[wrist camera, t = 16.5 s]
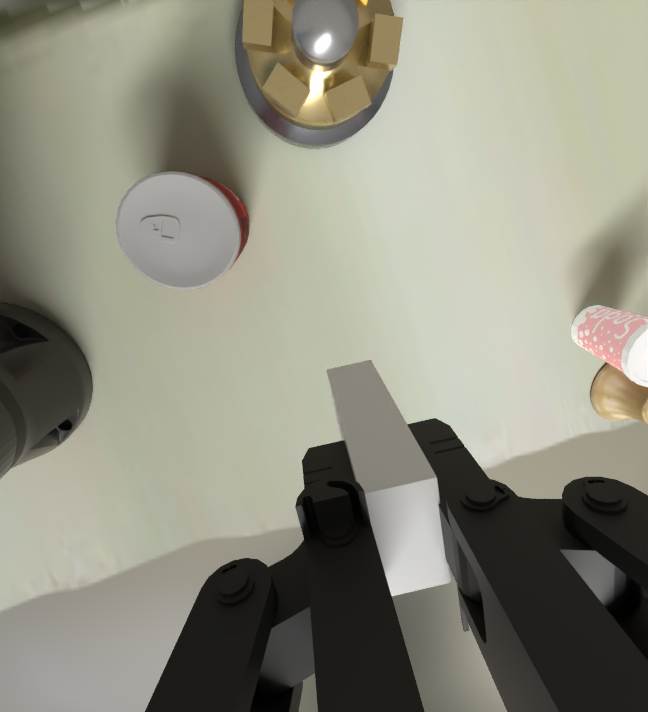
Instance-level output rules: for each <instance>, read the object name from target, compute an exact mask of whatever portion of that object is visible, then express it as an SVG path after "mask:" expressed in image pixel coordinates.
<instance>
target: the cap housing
mask: <svg viewBox="0 0 648 712" xmlns="http://www.w3.org/2000/svg"><path fill="white" fill-rule="evenodd" d="M242 35H243V10H242V12H241V16H240V19H239V22H238V27H237V33H236V45H235V52H236V64H237V69H238V74H239V78H240V81H241V85H242V88H243V91H244V94H245V96H246V98H247V101H248V103H249V105H250V107H251V109H252V110H253V112H254V114H255V115H256V116H257V118H258V119H259V121H260V122H261V123H262V124H263V125H264V126H265V127H266V128H267V129H268V130H269V131H270V132H271V133H273V134H274V135H275V136H277V137H278V138H280V139H281V140H283V141H285V142H287V143H290V144H292V145H295V146H298V147H303V148H310V149H319V148H326V147H331V146H334V145H337V144H339V143H342V142H344V141H346V140H347V139H349V138H350V137H352V136H353V135H355V134H356V133H357V132H358V131H359V130H360V129H362V128H363V127H364V126H365V125H366V124H367V123H368V122H369V121H370V120H371V119H372V118H373V117H374V115H375V114H376V113H377V111H378V110H379V108H380V107H381V105H382V103H383V101H384V99H385V97H386V95H387V92H388V90H389V87H390V83H391V79H392V75H393V70H392V71H389V72H388V75H387V77H386V79H385V81H384V83H383V85H382V86H381V88H380V90H379V91H378V92H377V94H376V95H375V96H374V98H373V99H372V100H371V104H370V105H369V106H368V107H367V108H365V109H363V110H361V111H360V112H359V113H358V114H357V115H356V116H355V117H354V118H352V119H351V120H350V121H348V122H346V123H344V124H343V125H340V126H338V127H335V128H331V129H327V130H309V129H304V128H300V127H298V126H295V125H293V124H291V123H289V122H287V121H285V120H284V119H282V118H281V117H280V116H278V115H277V114H276V113H275V112H274V111H273V110H272V109H271V108H270V107H269V105H268V104H267V103H266V102H265V100H264V99H263V97H262V96H261V94H260V92H259V90H258V88H257V86H256V84H255V81H254V78H253V75H252V71H251V67H250V63H249V58H248V53H247V49H244V47H243V43H242Z"/></svg>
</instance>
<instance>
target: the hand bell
mask: <svg viewBox="0 0 648 712" xmlns="http://www.w3.org/2000/svg"><path fill="white" fill-rule="evenodd" d="M591 402H592V405H593V407H594V409H595V411H596V412H597V413H598V414H599V415H600V416H602V417H604V418H606V419H609V420H617V421H620V420H628V419H631V418H633V419H637V420H640V421H642V422H644V423H647V424H648V387H645V386H641V385H638V384H636V383H635V382H634V381H631V380H630V379H629V378H628V377H627V376H626V375H625V374H624V373H623V372H622V371H620V370H619V369H617V368H615V367H614V366H612V365H610V364H609V363H607V364H606V365H605V366H604V367H603V368H602V369H601V370H600V372H599V373H598V375H597V376H596V378H595V380H594V382H593V385H592V389H591Z"/></svg>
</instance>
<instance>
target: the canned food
mask: <svg viewBox="0 0 648 712" xmlns="http://www.w3.org/2000/svg"><path fill="white" fill-rule="evenodd" d="M116 227H117V236H118V239H119V243H120V246H121V248H122V250H123V252H124V254H125V256H126V257H127V259H128V260H129V262H130V263H131V264H132V266H133V267H134V268H136V269H137V270H138V271H139V272H140V273H141V274H142V275H143V276H145V277H146V278H148V279H149V280H151V281H153V282H155V283H157V284H159V285H162V286H165V287H169V288H173V289H182V290H188V289H197V288H200V287H203V286H207V285H209V284H211V283H213V282H215V281H217V280H219V279H220V278H221V277H222V276H223V275H224V274H226V273H227V272H228V271H229V269H230V268H231V267H232V265H233V264H234V263H235V261H236V260H237V258H238V257H239V255H240V254H241V252H242V251H243V249H244V247H245V245H246V243H247V240H248V236H249V220H248V215H247V212H246V209H245V207H244V205H243V204H242V202H241V200H240V199H239V198H238V197H237V195H236V194H235V193H234V192H233V191H232V190H230V189H229V188H228V187H226V186H225V185H223V184H221V183H219V182H217V181H214V180H211V179H208V178H204V177H201V176H198V175H195V174H191V173H187V172H179V171H166V172H159V173H156V174H153V175H149V176H147V177H145V178H143V179H141V180H140V181H138V182H137V183H135V184H134V185H133V186H132V187H131V188H130V189H129V190H128V191H127V193H126V194H125V196H124V197H123V199H122V201H121V203H120V206H119V209H118V213H117V219H116Z"/></svg>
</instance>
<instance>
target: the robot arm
mask: <svg viewBox="0 0 648 712" xmlns="http://www.w3.org/2000/svg"><path fill="white" fill-rule="evenodd" d="M327 374H328V379H329V383H330V388H331V393H332V397H333V402H334V407H335V411H336V416H337V420H338V425H339V430H340V434H341V439H342V441H339V442H334V443H330V444H326V445H321V446H317V447H312V448H309V449H308V451H307V452H306V454H305V456H304V458H303V460H302V465H303V475H304V476H303V477H304V485H305V486H304V488H305V489H304V490H303V491H302V492H301V494H300V495H299V496H298V498H297V502H296V506H295V507H296V511H297V514H298V518H299V522H300V525H301V528H302V532H303V535H304V541H303V542H302V543H301V545H300V546H299V547H298V549H296V550H295V551H294V552H293V553H292V554H291V555H289V556H287V557H286V558H284V559H283V560H281V561H279V562H277V563H275V564H274V565H271V566H270V567H267V565H266V564H264V563H263V562H261V561H259V560H258V559H250V558H244V559H239V560H234V561H231V562H230V563H227V564H225V565H223V566H221V567H220V568H219V569H218V570H216V571H215V572H214V573H213V574H212V575H211V576H209V578H208V579H207V581H206V582H205V584H204V585H203V587H202V588H201V590H200V592H199V595H198V597H197V599H196V601H195V603H194V606H193V608H192V610H191V612H190V614H189V616H188V619H187V621H186V623H185V625H184V627H183V630H182V632H181V634H180V636H179V638H178V641H177V643H176V645H175V647H174V649H173V651H172V654H171V656H170V658H169V660H168V662H167V665H166V667H165V669H164V671H163V673H162V675H161V678H160V680H159V683H158V685H157V686H156V689H155V691H154V693H153V696H152V697H151V700H150V702H149V704H148V706H147V709H146V711H145V712H298V711H299V705H300V699H301V693H302V688H303V680H304V679H306V678H307V677H309V676H311V675H312V674H314V673H315V677H316V690H317V702H318V703H317V704H318V712H424V708H423V705H422V701H421V698H420V694H419V691H418V687H417V684H416V680H415V677H414V673H413V670H412V666H411V663H410V659H409V656H408V652H407V649H406V646H405V642H404V639H403V635H402V631H401V628H400V625H399V621H398V617H397V614H396V611H395V607H394V603H393V600H392V596H395V595H399V594H403V593H407V592H412V591H416V590H420V589H424V588H429V587H433V586H437V585H441V584H446V583H450V582H451V580H450V572H449V567H450V569H451V571H452V573H453V576H454V578H455V580H456V582H457V588H458V596H459V604H460V611H461V620H462V625H463V630H464V631H469V626H470V628H471V630H472V632H473V635H474V637H475V639H476V641H477V644H478V646H479V648H480V650H481V653H482V655H483V657H484V659H485V662H486V664H487V666H488V668H489V671H490V673H491V675H492V678H493V680H494V682H495V684H496V687H497V689H498V691H499V693H500V696H501V698H502V700H503V702H504V705H505V707H506V709H507V712H648V496H647V495H646V494H644V493H642V492H641V491H639V490H637V489H635V488H634V487H632V486H629V485H627V484H625V483H622V482H620V481H618V480H614V479H609V478H604V477H584V478H580V479H576V480H573V481H571V482H570V483H569V484H568V485H566V486H565V488H564V491H563V493H562V499H531V498H522V497H518V496H517V495H516V494H515V493H514V492H513V491H512V490H511V489H510V488H508V487H507V486H506V485H505V484H502V483H500V482H498V481H495V480H491V479H489V478H488V477H487V475H486V474H485V473H484V471H483V470H482V469H481V467H480V466H479V465H478V463H477V462H476V461H475V459H474V458H473V457H472V455H471V454H470V453H469V451H468V450H467V449H466V448H465V447H464V444H463V443H462V442H461V440H460V439H458V437H457V435H456V434H455V432H454V431H453V430H452V428H451V427H450V426H449V425H447V424H445V423H443V422H441V421H440V420H438V419H436V418H434V419H429V420H425V421H421V422H416V423H412V424H407V423H406V422H405V420H404V418H403V416H402V415H401V413H400V411H399V409H398V407H397V406H396V404H395V402H394V400H393V399H392V397H391V395H390V393H389V391H388V390H387V388H386V386H385V384H384V383H383V381H382V379H381V377H380V376H379V374H378V372H377V370H376V368H375V367H374V365H373V363H372V361H371V360H368V361H364V362H359V363H355V364H350V365H346V366H341V367H337V368H333V369H328V370H327ZM91 398H92V380H91V375H90V371H89V368H88V365H87V363H86V360H85V358H84V356H83V355H82V353H81V351H80V350H79V348H78V347H77V345H76V344H75V343H74V341H73V340H72V339H71V338H70V337H69V336H68V335H67V334H66V333H65V332H64V331H63V330H62V329H61V328H59V327H58V326H57V325H56V324H54V323H53V322H51V321H50V320H48V319H47V318H45V317H43V316H41V315H39V314H37V313H35V312H33V311H31V310H28V309H25V308H22V307H19V306H15V305H11V304H5V303H0V479H1V478H2V477H3V476H4V475H5V474H6V473H7V472H8V471H9V470H10V469H11V468H13V467H15V466H17V465H20V464H22V463H24V462H27V461H29V460H31V459H34V458H36V457H38V456H41V455H43V454H45V453H47V452H49V451H51V450H53V449H55V448H56V447H58V446H59V445H60V444H62V443H63V442H64V441H65V440H66V439H67V438H68V437H69V436H70V435H71V434H72V433H73V432H74V431H75V430H76V429H77V427H78V426H79V425H80V424H81V422H82V421H83V420H84V418H85V416H86V414H87V412H88V410H89V407H90V403H91ZM468 623H469V626H468Z"/></svg>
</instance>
